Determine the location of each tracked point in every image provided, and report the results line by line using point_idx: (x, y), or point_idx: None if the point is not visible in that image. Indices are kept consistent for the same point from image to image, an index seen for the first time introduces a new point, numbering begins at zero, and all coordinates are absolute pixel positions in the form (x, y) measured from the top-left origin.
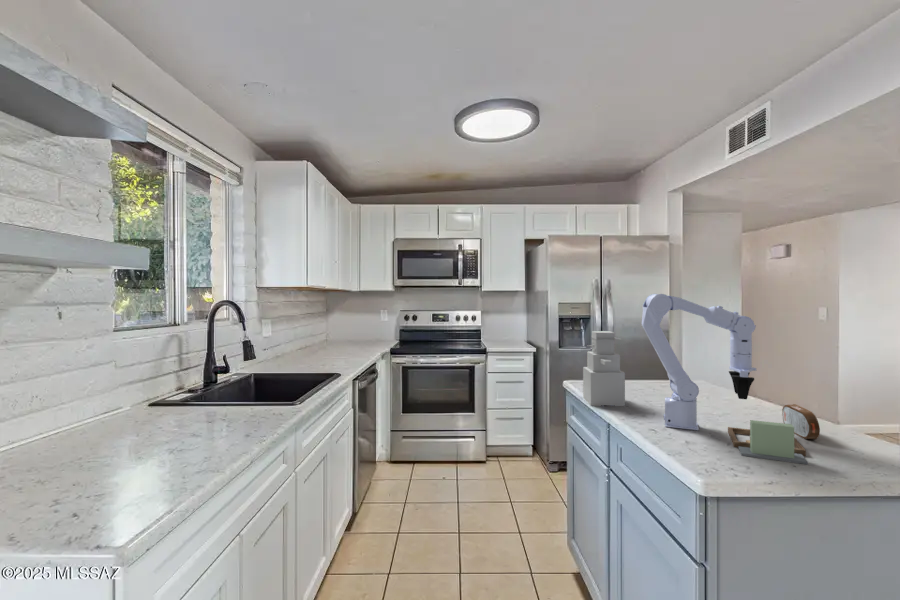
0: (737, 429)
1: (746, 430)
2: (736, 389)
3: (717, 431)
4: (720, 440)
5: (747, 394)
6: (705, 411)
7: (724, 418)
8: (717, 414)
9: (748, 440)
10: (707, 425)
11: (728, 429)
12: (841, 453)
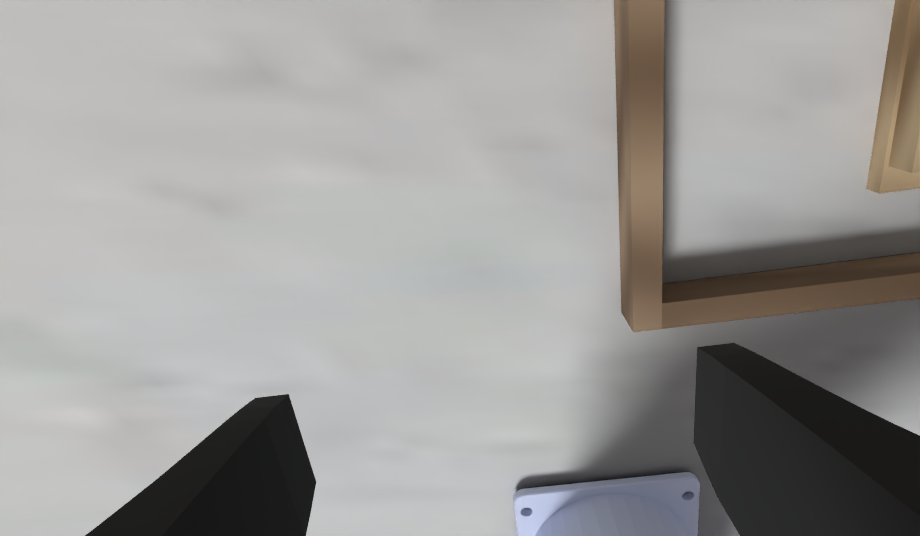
0: (660, 263)
1: (659, 198)
2: (287, 533)
3: (643, 371)
4: (881, 344)
5: (812, 389)
6: (78, 469)
7: (202, 348)
8: (105, 396)
9: (888, 176)
10: (507, 433)
11: (684, 322)
12: None
